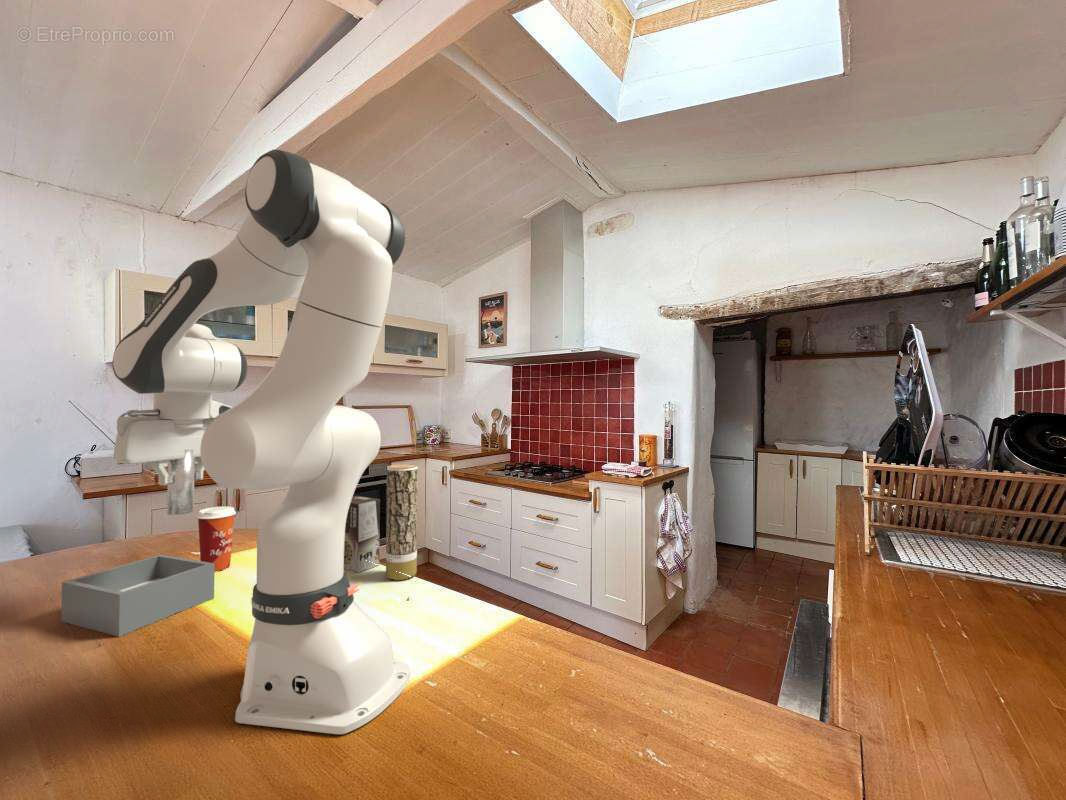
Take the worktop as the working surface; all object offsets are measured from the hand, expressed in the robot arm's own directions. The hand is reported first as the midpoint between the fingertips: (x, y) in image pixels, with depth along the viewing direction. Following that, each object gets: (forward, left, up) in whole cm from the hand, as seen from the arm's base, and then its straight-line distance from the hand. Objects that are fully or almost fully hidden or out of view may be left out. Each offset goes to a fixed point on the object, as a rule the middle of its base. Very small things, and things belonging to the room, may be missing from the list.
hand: (181, 482), depth 86 cm
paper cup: (+15, -18, -24) cm, 34 cm away
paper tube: (-29, -29, -24) cm, 48 cm away
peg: (0, 0, -6) cm, 6 cm away
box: (+7, +2, -24) cm, 25 cm away
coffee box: (-15, -31, -24) cm, 42 cm away
